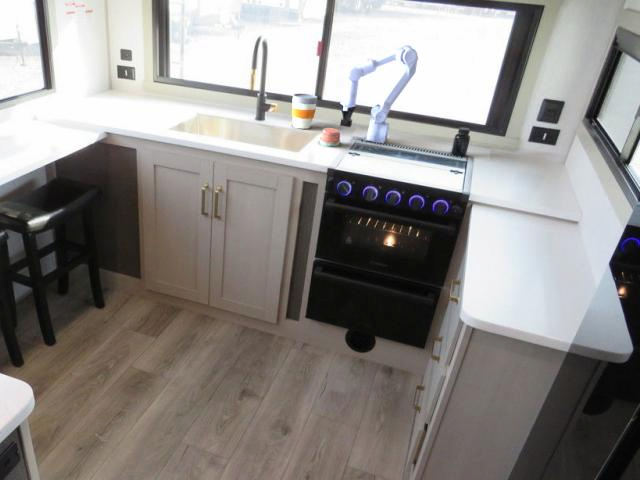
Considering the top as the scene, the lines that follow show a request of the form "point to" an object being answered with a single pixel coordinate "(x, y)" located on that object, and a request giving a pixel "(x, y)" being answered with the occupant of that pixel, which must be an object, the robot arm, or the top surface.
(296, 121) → the reusable coffee cup
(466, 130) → the supplement bottle
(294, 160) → the top surface
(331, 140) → the cup stack
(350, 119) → the binder clip
